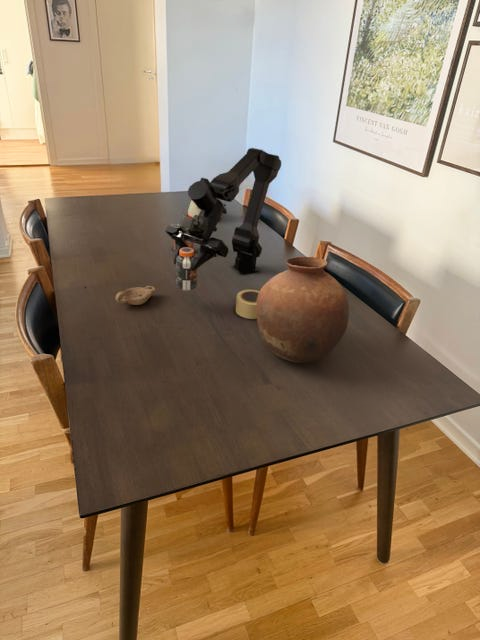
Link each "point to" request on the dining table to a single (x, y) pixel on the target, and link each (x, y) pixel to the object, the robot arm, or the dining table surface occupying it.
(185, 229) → the red upright container
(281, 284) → the pottery
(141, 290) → the oil lamp
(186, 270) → the pill bottle
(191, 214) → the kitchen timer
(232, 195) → the robot arm
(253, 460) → the dining table surface
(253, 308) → the tape roll
